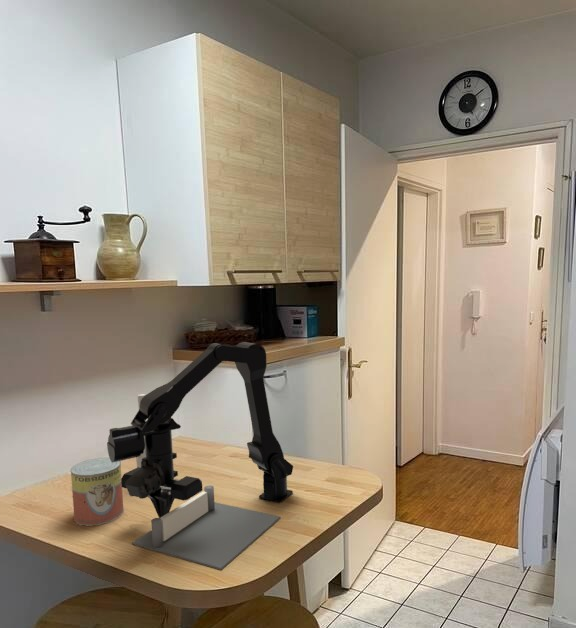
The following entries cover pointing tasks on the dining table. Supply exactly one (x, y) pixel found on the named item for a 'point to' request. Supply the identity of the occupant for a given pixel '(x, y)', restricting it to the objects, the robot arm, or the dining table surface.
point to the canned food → (97, 491)
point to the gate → (187, 512)
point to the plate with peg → (211, 535)
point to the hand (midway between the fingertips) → (163, 520)
